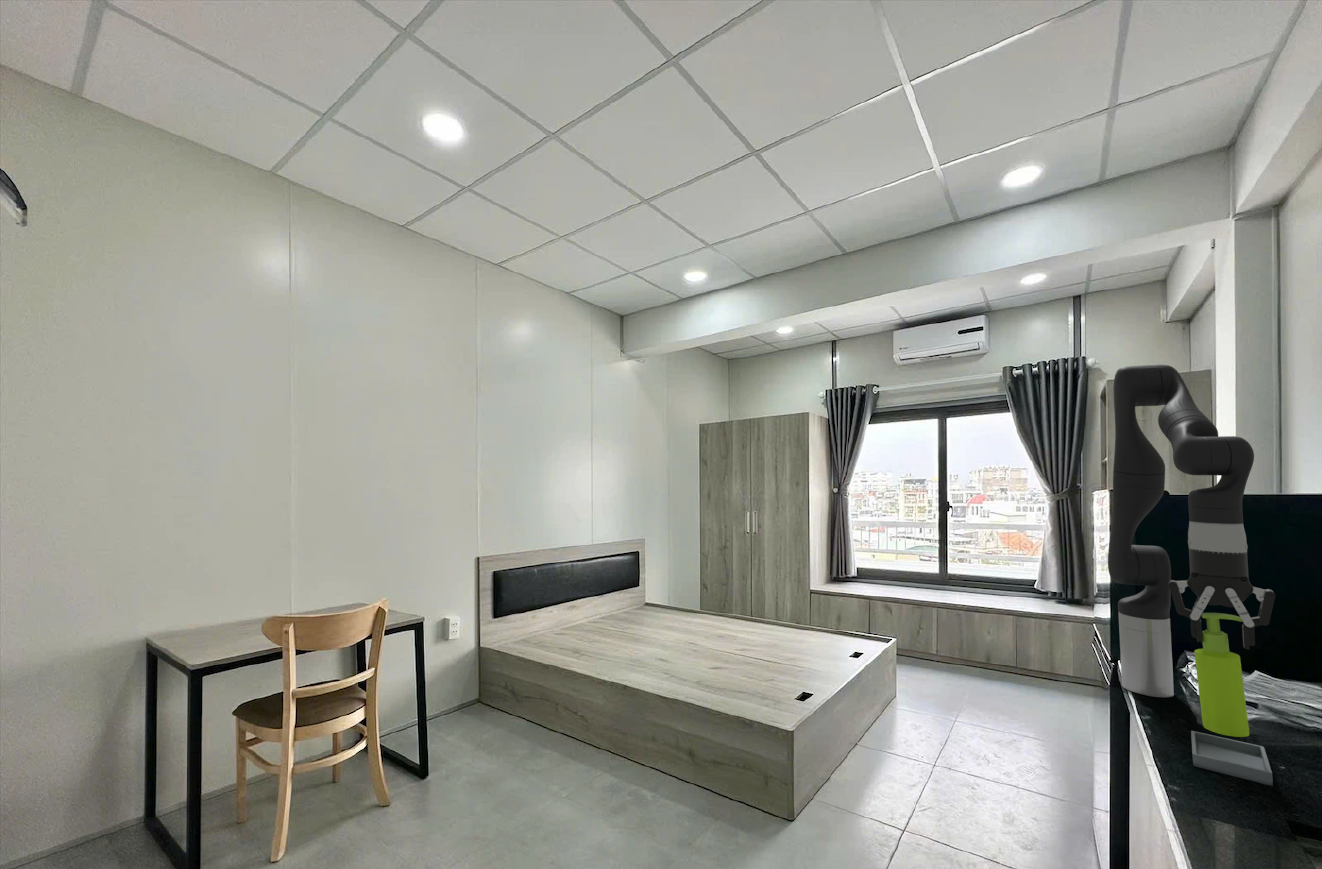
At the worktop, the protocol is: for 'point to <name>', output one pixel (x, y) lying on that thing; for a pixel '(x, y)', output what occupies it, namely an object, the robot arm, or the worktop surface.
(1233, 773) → the tray
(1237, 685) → the soap dispenser
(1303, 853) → the worktop surface
